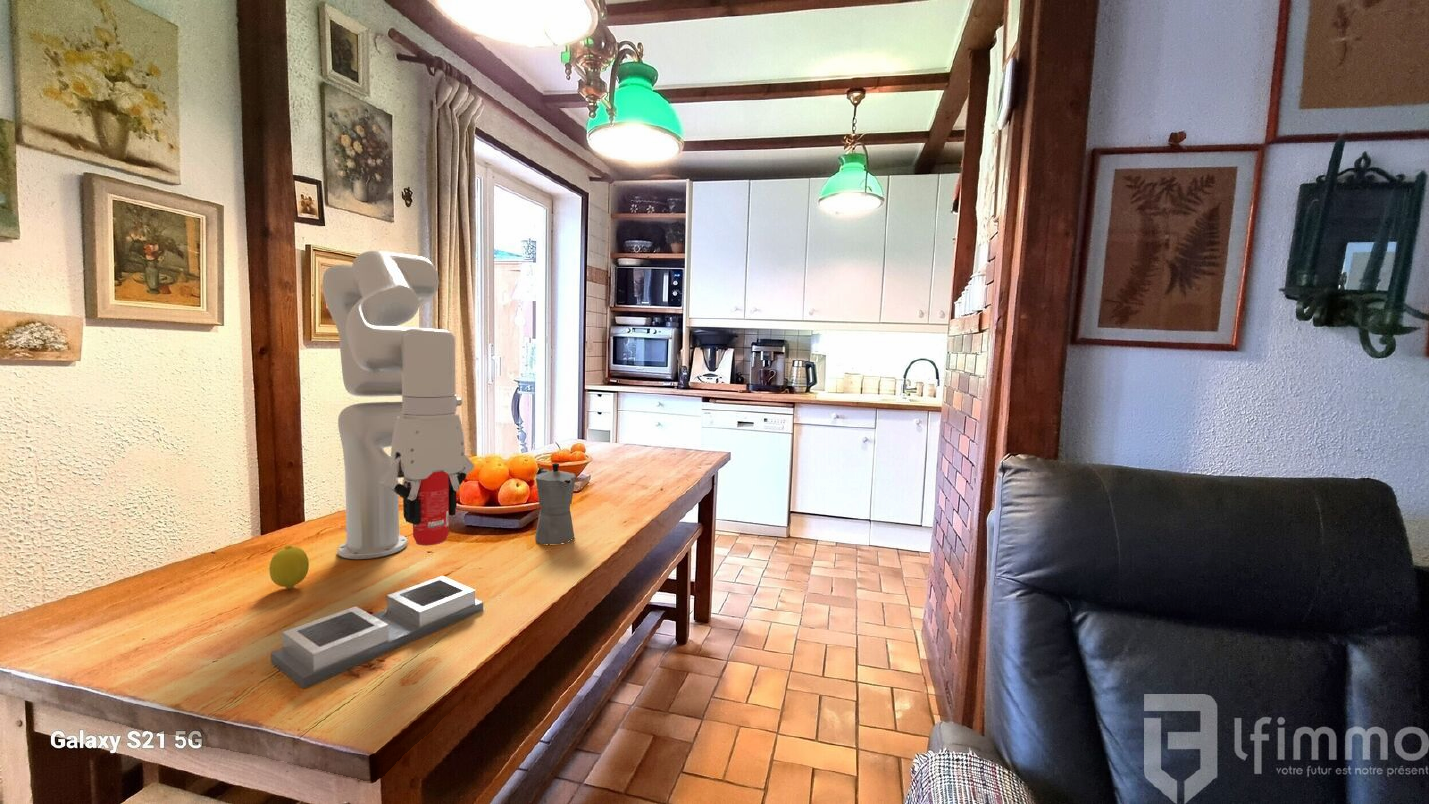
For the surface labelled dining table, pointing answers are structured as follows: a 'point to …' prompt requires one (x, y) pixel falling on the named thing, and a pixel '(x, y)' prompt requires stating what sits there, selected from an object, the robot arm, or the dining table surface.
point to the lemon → (289, 566)
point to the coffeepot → (554, 505)
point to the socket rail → (372, 630)
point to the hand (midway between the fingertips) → (431, 517)
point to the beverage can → (433, 510)
